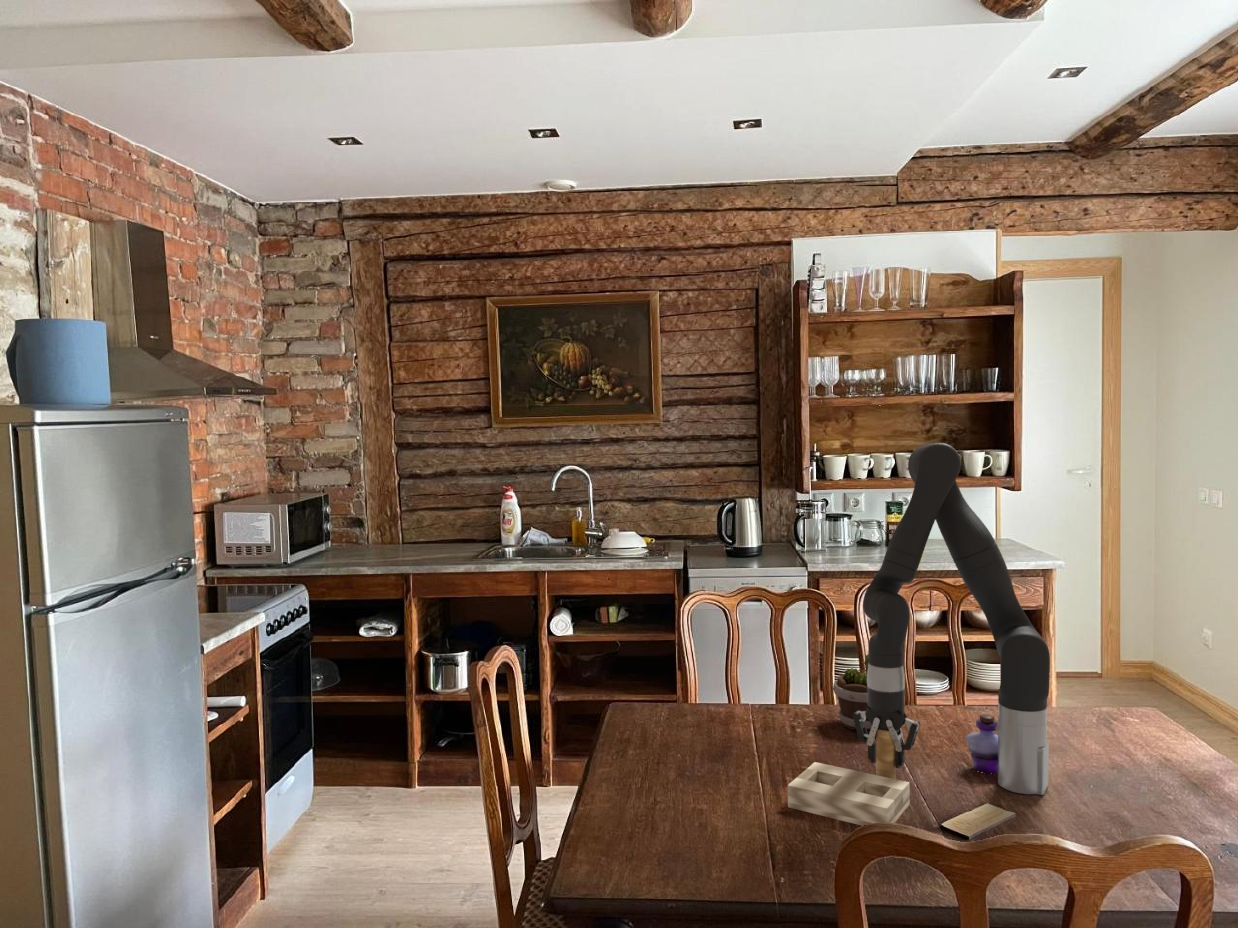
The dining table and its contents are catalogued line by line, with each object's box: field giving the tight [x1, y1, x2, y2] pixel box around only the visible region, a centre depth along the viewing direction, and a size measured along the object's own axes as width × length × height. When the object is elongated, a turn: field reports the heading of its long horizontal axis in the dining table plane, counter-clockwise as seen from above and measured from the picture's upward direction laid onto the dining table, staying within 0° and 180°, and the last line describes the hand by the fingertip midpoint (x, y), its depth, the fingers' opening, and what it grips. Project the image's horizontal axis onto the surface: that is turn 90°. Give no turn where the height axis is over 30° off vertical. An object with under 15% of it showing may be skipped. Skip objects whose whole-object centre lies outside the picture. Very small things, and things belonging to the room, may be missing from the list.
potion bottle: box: [965, 713, 998, 776], centre depth 196 cm, size 9×9×12 cm
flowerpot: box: [831, 654, 872, 733], centre depth 224 cm, size 14×15×20 cm
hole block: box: [787, 761, 911, 827], centre depth 180 cm, size 20×14×4 cm
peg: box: [875, 729, 897, 780], centre depth 189 cm, size 4×4×12 cm
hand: (886, 764), depth 189 cm, fingers open, 4 cm apart
